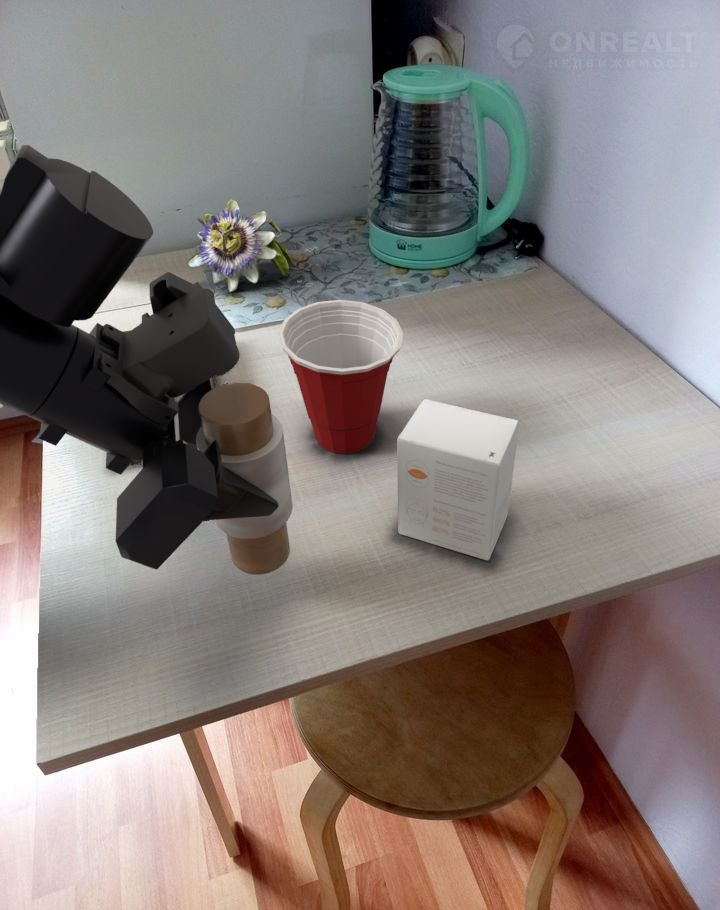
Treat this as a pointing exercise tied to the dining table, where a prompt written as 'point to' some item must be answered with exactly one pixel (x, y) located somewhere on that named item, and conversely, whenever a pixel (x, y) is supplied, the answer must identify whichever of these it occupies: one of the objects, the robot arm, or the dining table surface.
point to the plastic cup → (341, 367)
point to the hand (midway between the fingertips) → (268, 480)
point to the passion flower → (237, 246)
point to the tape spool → (250, 470)
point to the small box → (455, 477)
